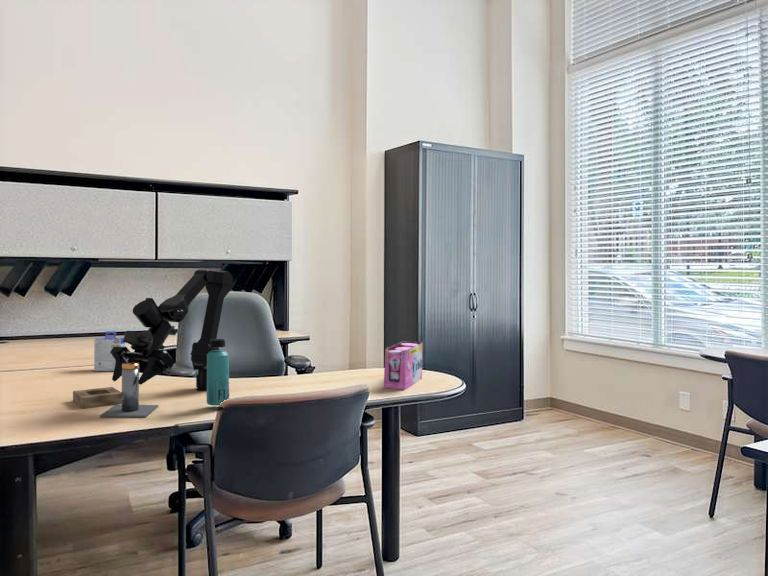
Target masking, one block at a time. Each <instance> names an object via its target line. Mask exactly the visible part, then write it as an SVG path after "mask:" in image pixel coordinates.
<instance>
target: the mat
mask: <svg viewBox="0 0 768 576" xmlns="http://www.w3.org/2000/svg"><path fill="white" fill-rule="evenodd" d="M158 408H159V404H139V410H137V411H133V412H123V411H122V404H115V405H113V406H112V407H110V408H108V409H107V410H106V411H104V412H103V413H101V414H100V415H99V419H100V418H101V419H103V418H104V419H105V418H106V419H107V418H109V419H110V418H111V419H117V418H118V419H120V418H121V419H122V418H123V419H125V418H126V419H127V418H128V419H129V418H130V419H133V418H134V419H135V418H136V419H138V418H139V419H144V418H145V419H146V418H147V417H148V416H150V415H151V414H152V413H153V412H154V411H155V410H157V409H158Z"/></svg>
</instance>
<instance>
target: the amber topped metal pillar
mask: <svg viewBox="0 0 768 576" xmlns="http://www.w3.org/2000/svg"><path fill="white" fill-rule="evenodd" d="M139 379H140V362H138V361H137V362H136V361H134V362H126V363H122V376H121V392H122V404H121V405H122V411H123V412H133V411H137V410H139V405H140V403H139V402H140V400H139V399H140V384H139V383H138V381H139Z"/></svg>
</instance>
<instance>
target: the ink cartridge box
mask: <svg viewBox="0 0 768 576" xmlns="http://www.w3.org/2000/svg"><path fill="white" fill-rule="evenodd" d="M123 339H124V336H123V337H117V331H115V330H113V331H106V333H105V336H104V337H97V338H94V341H93V342H94V343H93V344H94V345H93V347H94V355H93V358H94V359H93V360H94V361H93V367H94V369H93V372H114V368H115V358H114V357H113V356H112V354H111V353H110V351H111V350H112V349H113V347H114V346H123V347H126V342H125V343H124V342H123Z"/></svg>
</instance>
